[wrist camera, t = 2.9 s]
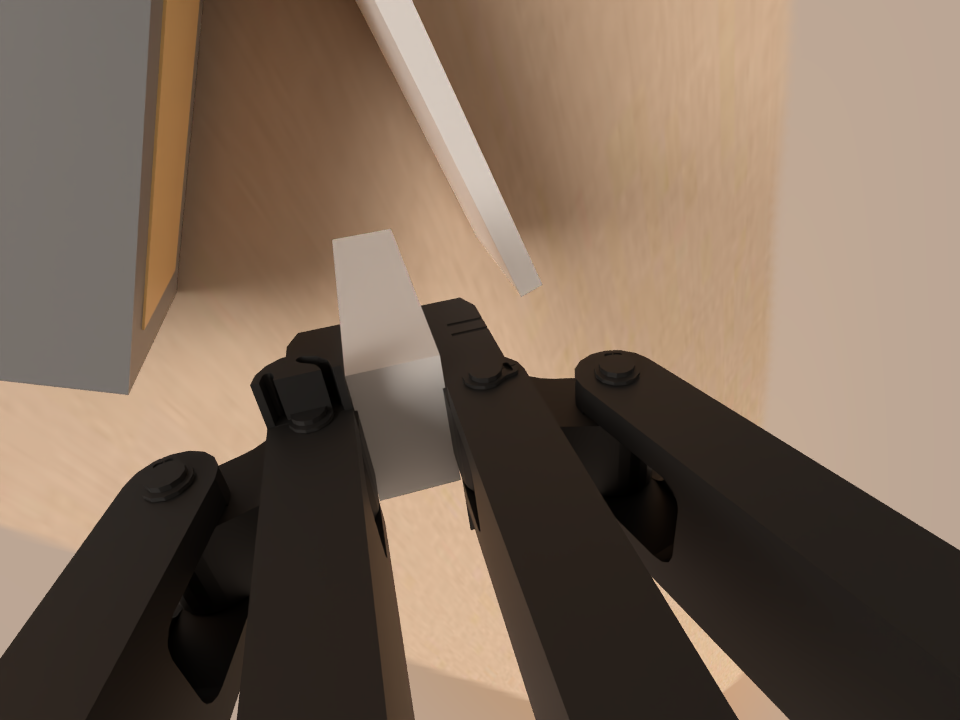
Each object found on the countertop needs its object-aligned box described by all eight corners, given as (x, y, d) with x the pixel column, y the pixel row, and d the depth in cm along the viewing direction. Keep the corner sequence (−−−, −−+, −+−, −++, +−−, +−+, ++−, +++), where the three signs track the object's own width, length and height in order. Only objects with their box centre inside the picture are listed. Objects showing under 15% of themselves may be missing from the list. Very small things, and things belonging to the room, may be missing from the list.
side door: (225, -236, 15) (184, -360, 10) (264, -260, 15) (242, -397, 10) (472, 239, 23) (516, 299, 18) (497, 224, 23) (547, 281, 18)
